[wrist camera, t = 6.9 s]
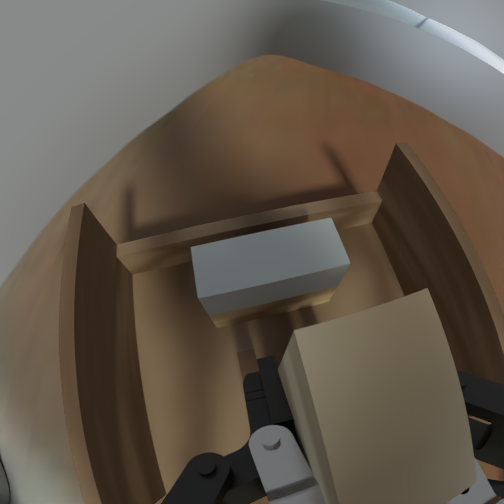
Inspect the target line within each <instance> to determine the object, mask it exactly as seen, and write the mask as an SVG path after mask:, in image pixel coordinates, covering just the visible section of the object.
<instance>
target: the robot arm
mask: <svg viewBox="0 0 504 504" xmlns="http://www.w3.org/2000/svg"><path fill="white" fill-rule="evenodd" d="M257 363H258V367H259V371H258V372H253V373H249V374H246V376H245V379H244V381H243V389H244V395H245V401H246V408H247V414H248V420H249V426H250V437H249V439H248V441H247V443H246V444H245V445H244V446H243V447H242V448H240V449H239V450H237V451H235V452H232V453H230V454H228V455H226V456H222V455H220V454H217V453H213V452H208V453H202V454H199V455H197V456H195V457H193V458H192V459H191V460H190V461H189V462H188V463H187V465H186V467H185V468H184V470H183V471H182V473H181V474H180V476H179V478H178V479H177V481H176V482H175V484H174V485H173V487H172V488H171V490H170V491H169V493H168V494H167V496H166V497H165V499H164V500H163V502H162V503H161V504H250V503H252V502H254V501H256V500H258V499H260V498H262V497H265V496H267V498H268V500H269V503H270V504H326V502H325V500H324V497H323V494H322V491H321V488H320V486H319V483H318V481H317V480H316V479H315V478H314V475H313V472H312V470H311V469H310V467H309V465H308V463H307V461H306V459H305V458H304V456H303V454H302V452H301V450H300V448H299V446H298V442H297V436H296V430H295V423H294V418H293V415H292V412H291V409H290V406H289V403H288V400H287V397H286V394H285V391H284V388H283V385H282V382H281V379H280V376H279V373H278V365H277V362H276V359H275V356H274V355H272V356H268V357H264V358H259V359H257ZM457 374H458V378H459V382H460V386H461V390H462V394H463V398H464V402H465V407H466V411H467V414H469V415H472V416H475V417H477V418H480V419H483V420H485V421H488V422H490V423H492V424H485V423H482V422H479V421H477V420H474V419H472V418H469V417H468V422H469V427H470V433H471V439H472V445H473V452H474V461H475V470H476V482H475V483H474V484H473V485H472V486H470V487H469V488H467V489H466V490H465V491H463V492H462V493H460V494H459V495H458V496H456V497H455V498H453V499H452V500H450V501H449V502H447V503H445V504H504V481H497V480H491V479H487V478H486V476H485V475H484V473H483V471H482V469H481V467H480V466H479V464H478V462H477V460H476V459H478V460H480V461H483V462H486V463H488V464H491V465H494V466H496V467H499V468H502V469H504V385H502V384H499V383H496V382H493V381H490V380H487V379H484V378H481V377H478V376H475V375H472V374H469V373H466V372H462V371H457ZM9 496H10V494H9V487H8V482H7V479H6V476H5V472H4V470H3V467H2V465H1V463H0V504H8V502H9Z"/></svg>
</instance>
